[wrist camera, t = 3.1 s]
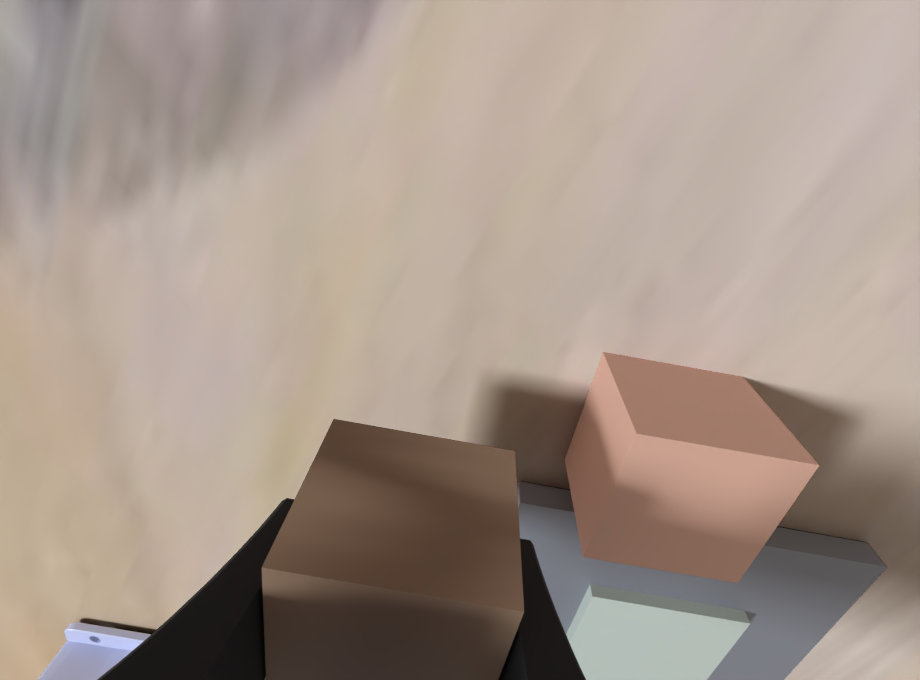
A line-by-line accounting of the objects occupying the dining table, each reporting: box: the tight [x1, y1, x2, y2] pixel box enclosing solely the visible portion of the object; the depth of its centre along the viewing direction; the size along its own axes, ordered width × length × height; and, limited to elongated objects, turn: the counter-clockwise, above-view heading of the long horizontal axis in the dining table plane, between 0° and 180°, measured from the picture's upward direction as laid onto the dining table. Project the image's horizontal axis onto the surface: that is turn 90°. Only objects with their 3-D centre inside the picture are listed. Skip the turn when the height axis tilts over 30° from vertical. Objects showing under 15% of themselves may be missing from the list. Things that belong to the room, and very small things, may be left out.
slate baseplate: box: [517, 482, 887, 680], centre depth 20 cm, size 13×13×2 cm
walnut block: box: [262, 419, 524, 680], centre depth 11 cm, size 4×4×4 cm
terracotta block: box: [565, 352, 819, 583], centre depth 14 cm, size 4×4×4 cm
